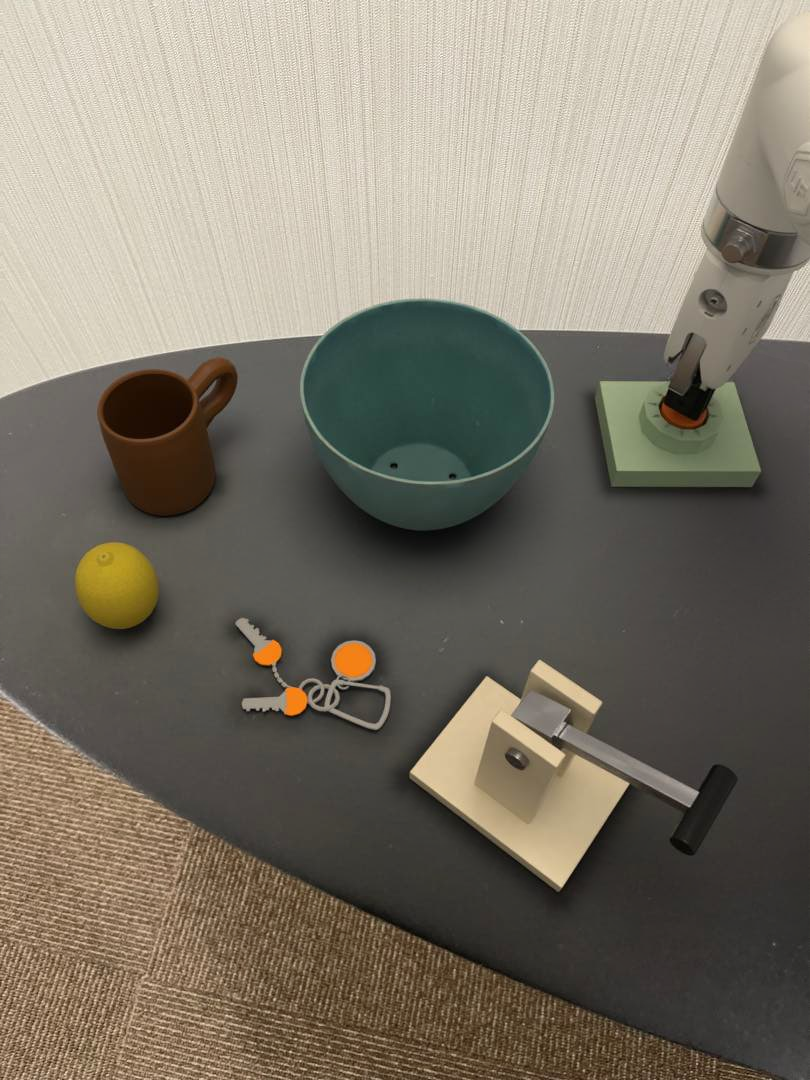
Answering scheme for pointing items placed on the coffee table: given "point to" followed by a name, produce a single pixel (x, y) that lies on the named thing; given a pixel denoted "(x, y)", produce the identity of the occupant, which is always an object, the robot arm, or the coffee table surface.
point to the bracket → (522, 777)
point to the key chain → (347, 663)
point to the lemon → (116, 585)
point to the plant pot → (425, 409)
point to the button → (680, 418)
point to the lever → (633, 770)
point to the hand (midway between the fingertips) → (684, 407)
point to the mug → (165, 434)
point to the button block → (673, 439)
